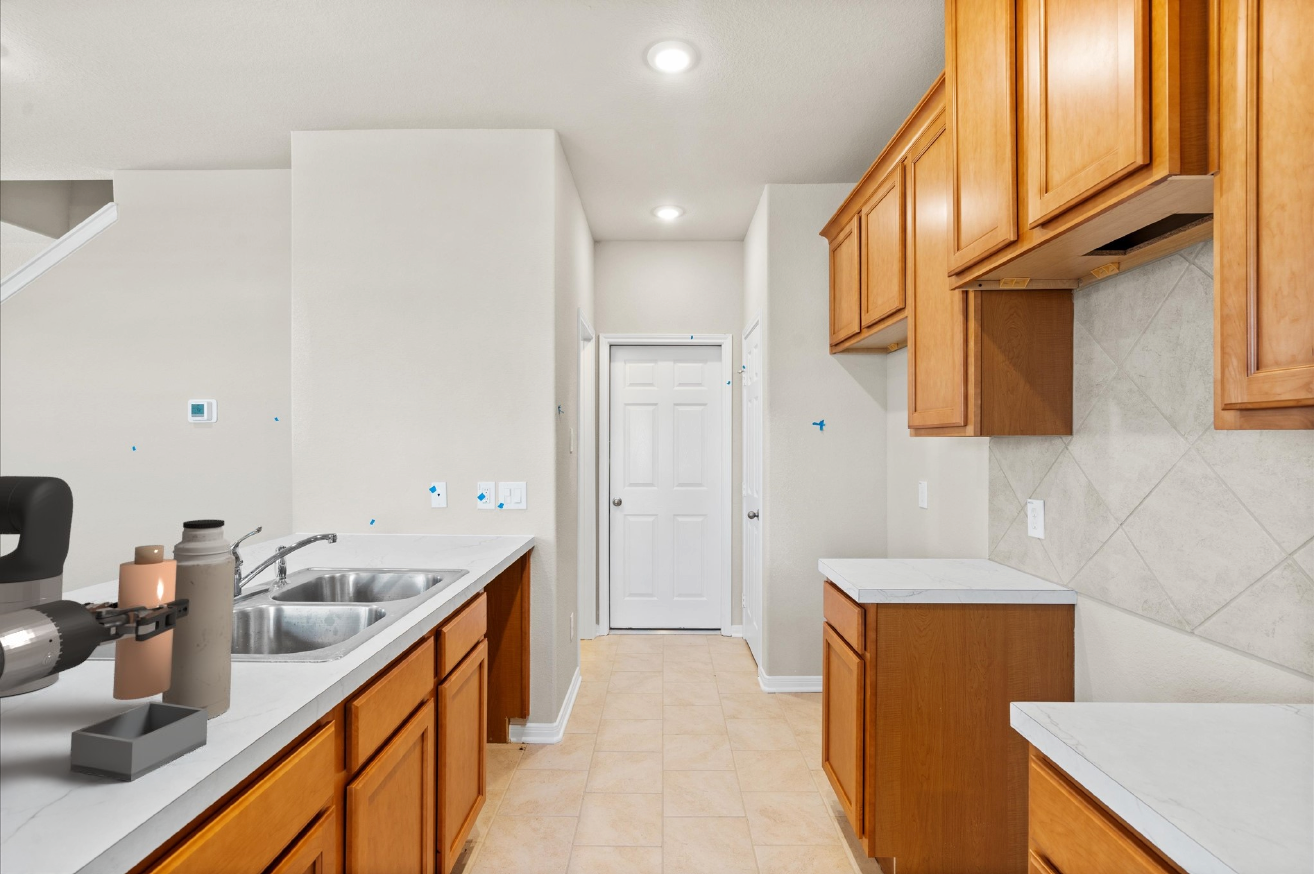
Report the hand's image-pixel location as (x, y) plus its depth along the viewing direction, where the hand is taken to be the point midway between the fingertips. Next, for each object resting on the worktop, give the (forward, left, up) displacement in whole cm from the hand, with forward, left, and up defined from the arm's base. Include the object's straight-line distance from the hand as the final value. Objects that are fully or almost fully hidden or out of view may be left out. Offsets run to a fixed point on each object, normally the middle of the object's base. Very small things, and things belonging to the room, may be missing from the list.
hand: (163, 605), depth 79 cm
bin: (0, -2, -18) cm, 18 cm away
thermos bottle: (-5, +9, -18) cm, 21 cm away
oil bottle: (0, -3, -10) cm, 10 cm away
